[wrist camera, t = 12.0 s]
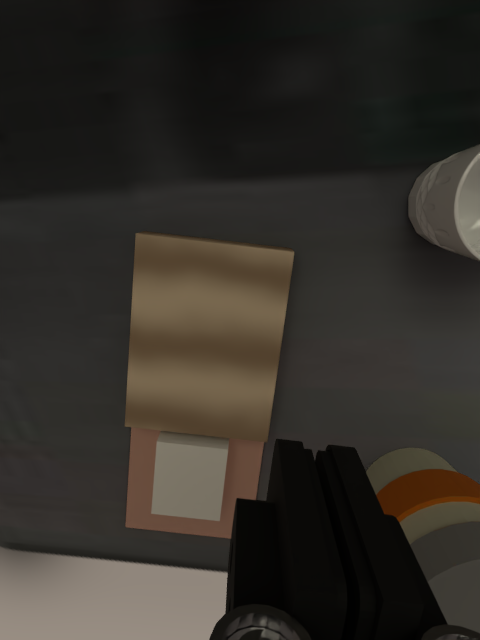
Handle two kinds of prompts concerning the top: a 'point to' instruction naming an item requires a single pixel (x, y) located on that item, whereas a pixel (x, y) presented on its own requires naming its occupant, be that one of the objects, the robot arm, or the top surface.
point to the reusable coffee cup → (436, 525)
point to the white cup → (449, 203)
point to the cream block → (189, 475)
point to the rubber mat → (138, 515)
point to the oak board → (205, 335)
